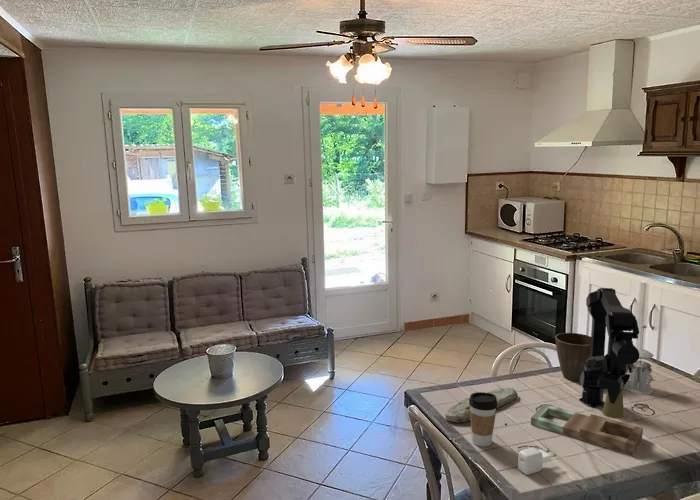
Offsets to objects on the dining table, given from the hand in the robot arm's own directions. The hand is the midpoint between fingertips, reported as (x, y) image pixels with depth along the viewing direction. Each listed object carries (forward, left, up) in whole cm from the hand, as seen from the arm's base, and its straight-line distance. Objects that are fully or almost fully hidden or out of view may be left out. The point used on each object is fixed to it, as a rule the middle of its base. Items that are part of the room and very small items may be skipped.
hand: (614, 400), depth 167 cm
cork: (0, 0, -5) cm, 5 cm away
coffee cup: (+38, -14, -13) cm, 42 cm away
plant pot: (-24, -42, -13) cm, 50 cm away
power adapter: (+32, +4, -13) cm, 35 cm away
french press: (-38, -24, -13) cm, 47 cm away
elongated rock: (+24, -33, -13) cm, 43 cm away
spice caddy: (+4, -7, -13) cm, 15 cm away
